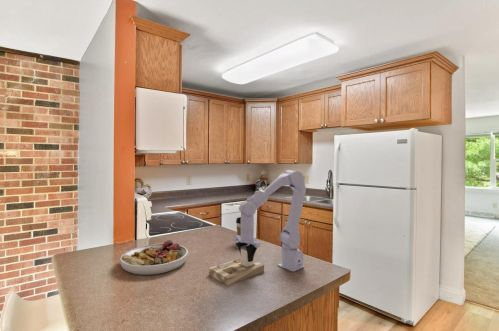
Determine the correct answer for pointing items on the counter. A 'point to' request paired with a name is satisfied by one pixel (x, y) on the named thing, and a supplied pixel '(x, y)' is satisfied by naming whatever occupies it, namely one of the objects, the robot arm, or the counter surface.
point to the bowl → (154, 258)
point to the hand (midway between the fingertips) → (247, 259)
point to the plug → (245, 257)
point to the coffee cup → (238, 226)
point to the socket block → (234, 271)
